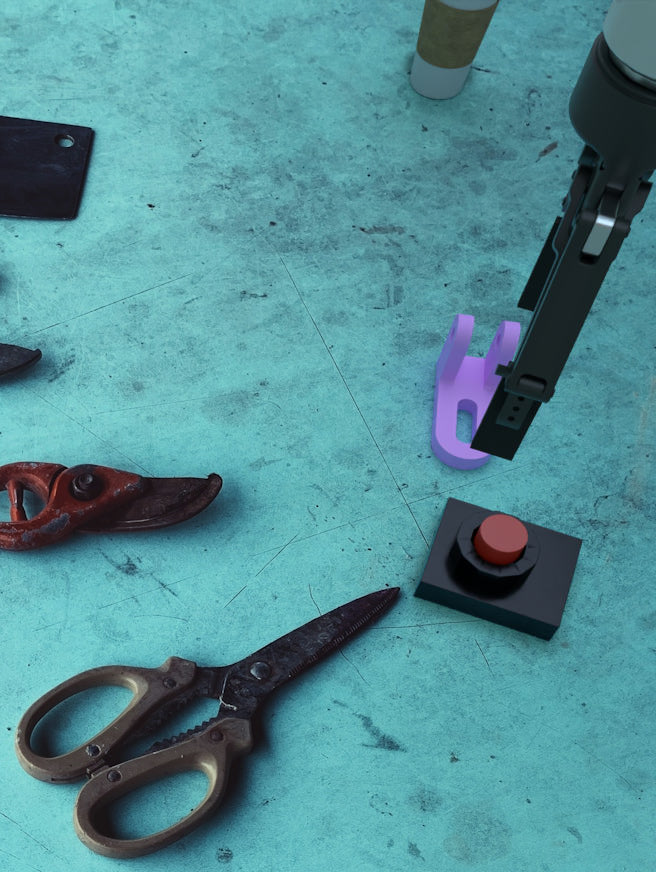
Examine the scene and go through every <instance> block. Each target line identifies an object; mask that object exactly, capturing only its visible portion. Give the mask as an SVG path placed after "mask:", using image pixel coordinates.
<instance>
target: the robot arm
mask: <svg viewBox="0 0 656 872" xmlns="http://www.w3.org/2000/svg"><path fill="white" fill-rule="evenodd" d="M568 116H569V120H570V124H571V126H572V128H573V130H574V132H575V133H576V135H577V136H578V137H579V139H581V140H582V142H584V145H583V147H582V150H581V152H580V155H579V157H578V160H577V167H576V169H574V170H573V172H572V174H571V176H570V179H571V183H570V186H569V188H568V190H567V193H566V195H565V196H564V197H563V199H562V202H561V210H560V212H561V213H563V215H562V216H560V215H557V216H556V217H555V220H554V221H553V223H552V226H551V228H550V231H549V233H548V235H547V237H546V239H545V241H544V243H543V245H542V248H541V250H540V252H539V255H538V257H537V258H536V262H535V264H534V266H533V268H532V270H531V272H530V275H529V277H528V278H527V281H526V283H525V286H524V287H523V289H522V292H521V295H520V296H519V299H518V302H517V305H516V307H517V308H518V309H522V310H525V311H529V312H532V315H531V317H530V320H529V322H528V324H527V327H526V330H525V332H524V334H523V336H522V339H521V342H520V343H519V347H518V349H517V350H516V353H515V355H514V357H513V360H512V361H509V363H508V365H507V366H505V365H501V364H498V365H497V368H496V371H495V375H498V376H502V378H501V380H500V382H499V384H498V386H497V389H496V391H495V393H494V395H493V397H492V399H491V401H490V403H489V406H488V408H487V410H486V412H485V414H484V416H483V418H482V420H481V423H480V425H479V427H478V429H477V431H476V433H475V435H474V437H473V440H472V439H471V442H470V443H471V445H470V448H471V449H474V450H478V451H481V452H484V453H487V454H490V455H491V456H494V457H498V458H500V459H503V460H507V461H510V462H512V461H513V460H514V458H515V455H517V452H518V450H519V448H520V446H521V444H522V443H523V441H524V438H525V436H526V435H527V433H528V431H529V428H530V427H531V425H532V423H533V422H534V420H535V418H536V416H537V415H538V412H539V410H540V408H541V406H542V404H548V403H549V402H550V401H551V399H553V397H554V395H555V393H556V386H557V385H558V381H559V379H560V377H561V375H562V372H563V371H564V368H565V366H566V364H567V361H568V359H569V357H570V356H571V353H572V351H573V349H574V347H575V344H576V342H577V340H578V337H579V336H580V333H581V331H582V329H583V327H584V325H585V323H586V320H587V318H588V316H589V313H590V312H591V309H592V307H593V305H594V303H595V301H596V298H597V297H598V294H599V293H600V290H601V287H602V285H603V283H604V281H605V278H606V276H607V274H608V272H609V270H610V268H611V266H612V264H613V262H615V260H616V259H617V257H618V255H619V253H620V251H621V248H622V245H623V243H624V241H625V239H627V238H628V237H629V235H630V232H631V230H632V227H631V226H632V223H633V220H634V218H635V216H637V215H639V213H641V211H642V210H643V209H644V207H645V204H646V202H647V200H648V198H649V195H650V193H651V190H652V188H653V185H654V182H653V181H649V180H650V179H651V178H652V176H653V174H654V173H655V170H656V0H612V2H611V4H610V6H609V8H608V11H607V13H606V15H605V18H604V20H603V25H602V31H601V32H599V33H598V34H597V36H596V37H595V39H594V40H593V43H592V45H591V47H590V50H589V52H588V55H587V57H586V59H585V62H584V64H583V66H582V69H581V71H580V74H579V76H578V78H577V81H576V83H575V86H574V88H573V90H572V91H571V95H570V98H569V101H568Z"/></svg>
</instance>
